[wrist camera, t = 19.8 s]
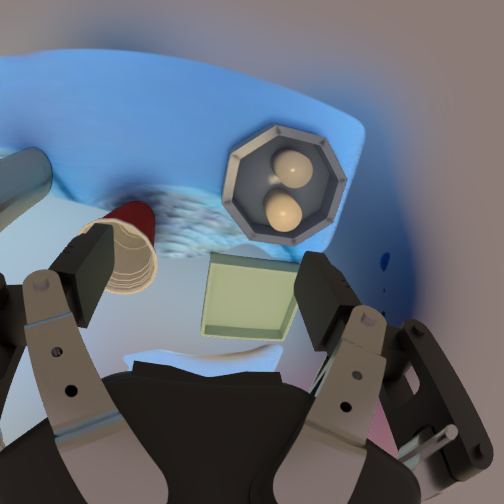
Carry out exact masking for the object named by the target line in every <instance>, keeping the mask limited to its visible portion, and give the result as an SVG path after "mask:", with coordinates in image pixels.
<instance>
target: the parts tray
mask: <svg viewBox="0 0 504 504" xmlns="http://www.w3.org/2000/svg"><path fill="white" fill-rule="evenodd" d="M299 267H300V264H299V263H291V262H283V261H275V260H267V259H258V258H250V257H243V256H234V255H226V254H219V253H211V257H210V264H209V270H208V277H207V284H206V292H205V298H204V305H203V313H202V320H201V336H206V337H218V338H229V339H245V340H262V341H284V340H285V337H286V335H287V333H288V331H289V328H290V326H291V323H292V321H293V319H294V316H295V314H296V311H297V309H298V304H297V301H296V299H295V296H294V282H295V279H296V276H297V273H298V270H299Z"/></svg>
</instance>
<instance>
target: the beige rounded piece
mask: <svg viewBox="0 0 504 504" xmlns="http://www.w3.org/2000/svg"><path fill="white" fill-rule="evenodd" d="M270 166H271V169H272V171H273V172H274V173H275V175H276V176H277V177H278V178H279V180H280V181H281V182H282V183H283V184H284V185H285V186H287V187H290V188H299V187H302V186H304V185H305V184H307V183H308V182H309V180H310V179H311V177H312V173H313V167H312V164H311V162H310V160H309V159H308V158H307V157H306V156H304V155H302V154H301V153H299V152H297V151H296V150H294V149H292V148H289V147H284V148H280V149H278V150H277V151H275V152H274V154H273V155H272V157H271V160H270Z"/></svg>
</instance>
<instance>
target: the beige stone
mask: <svg viewBox="0 0 504 504" xmlns="http://www.w3.org/2000/svg"><path fill="white" fill-rule="evenodd" d="M263 208H264V211H265V213H266V215H267V218H268V220H269V223H270V225H271V226H272V227H273V228H274V229H275V230H277V231H281V232H287V231H290V230H293V229H294V228H296V227H297V226H298V224H299V223H300V221H301V218H302V211H301V208H300V207H299V205H298V204H297V202H296V201H295V200H294V199H293V197H292V196H291V195H290V193H289V192H288V191H286V190H284V189H281V188H276V189H272V190H270V191H269V192H268V193H267V194H266V195H265V196H264V198H263Z"/></svg>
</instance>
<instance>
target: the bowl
mask: <svg viewBox="0 0 504 504" xmlns="http://www.w3.org/2000/svg"><path fill="white" fill-rule="evenodd" d="M284 147H289V148H292V149H294V150H296V151H297V152H299V153H301V154H302V155H304V156H306V157H307V158H308V159H309V160H310V162H311V164H312V167H313V173H312V177H311V179H310V180H309V182H308V183H307V184H305V185H304V186H302V187H299V188H290V187H287V186H285V185H284V184H283V183H282V182H281V181H280V180H279V178H278V177H277V176H276V175H275V173H274V172H273V171H272V169H271V166H270V160H271V157H272V155H273V154H274V152H275V151H277V150H278V149H280V148H284ZM346 182H347V178H346V176H345V174H344V171H343V169H342V167H341V165H340V163H339V161H338V159H337V157H336V155H335V154H334V152H333V150H332V148H331V146H330V144H329V142H328V140H327V138H325V137H322V136H319V135H316V134H313V133H309V132H305V131H302V130H298V129H294V128H290V127H286V126H282V125H277V124H273V123H270V124H268V125H267V126H265V127H264V128H262V129H260V130H259V131H257V132H255V133H254V134H252V135H251V136H249V137H248V138H246V139H244V140H243V141H241V142H240V143H238V144H237V145H235V146H234V147H232V148H231V149H230V151H229V156H228V161H227V166H226V171H225V176H224V182H223V187H222V192H221V202H222V205H223V206H224V208H225V209H226V210H227V211H228V213H229V214H230V215H231V217H232V218H233V219H234V221H235V222H236V223H237V225H238V226H239V227H240V228H241V230H242V231H243V232H244V234H245V235H246V236H247V238H248V239H249V240H251V241H258V242H265V243H272V244H280V245H287V246H296V245H298V244H300V243H301V242H303V241H304V240H306V239H308V238H309V237H311V236H313V235H314V234H316V233H317V232H319V231H321V230H322V229H324V228H325V227H327V226H329V225H330V224H332V223H333V222H334V219H335V216H336V213H337V210H338V207H339V204H340V201H341V198H342V195H343V192H344V189H345V186H346ZM276 188H281V189H284V190H286V191H288V192H289V193H290V195H291V196H292V197H293V199H294V200H295V201H296V202H297V204H298V205H299V207H300V208H301V211H302V218H301V221H300V223H299V224H298V226H297V227H296V228H294V229H293V230H290V231H287V232H281V231H277V230H275V229H274V228H273V227H272V226H271V225H270V223H269V220H268V218H267V215H266V213H265V211H264V208H263V198H264V196H265V195H266V194H267V193H268V192H269V191H270V190H272V189H276Z"/></svg>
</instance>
